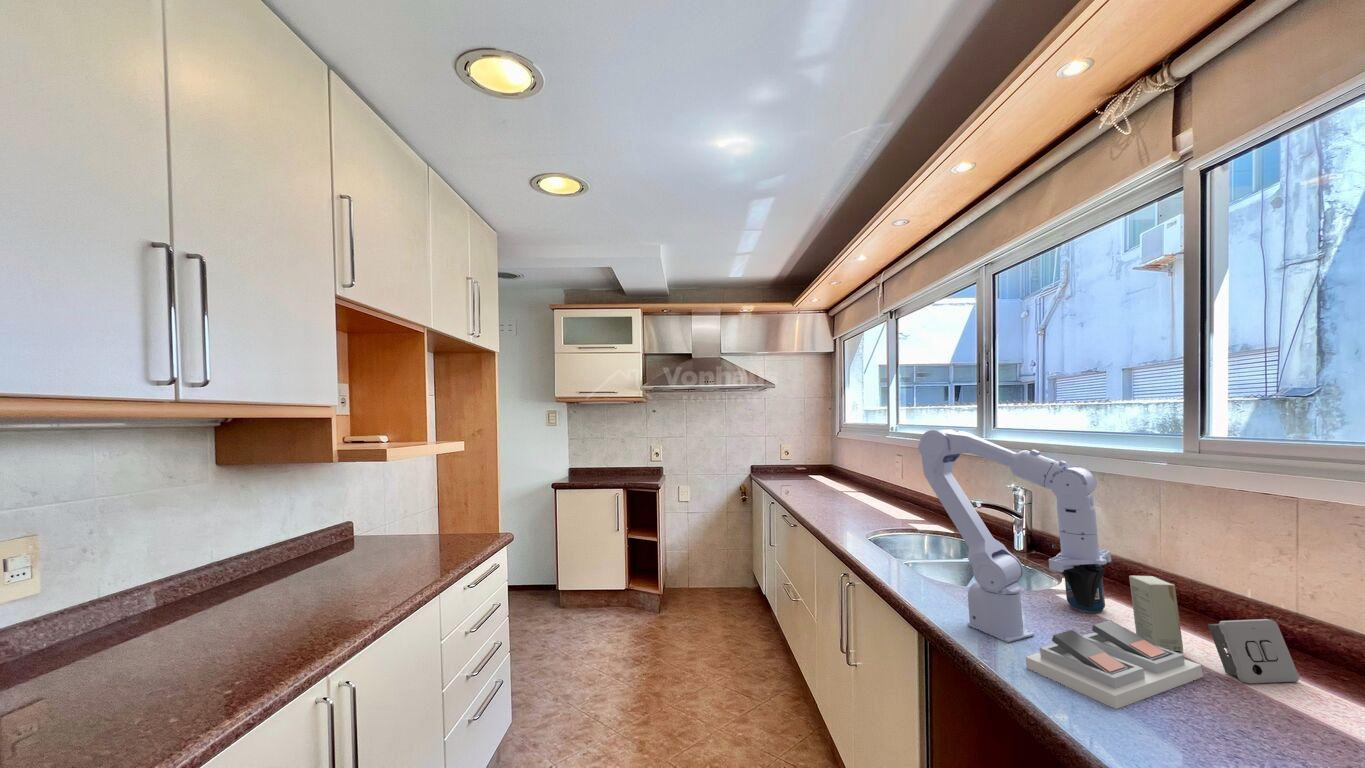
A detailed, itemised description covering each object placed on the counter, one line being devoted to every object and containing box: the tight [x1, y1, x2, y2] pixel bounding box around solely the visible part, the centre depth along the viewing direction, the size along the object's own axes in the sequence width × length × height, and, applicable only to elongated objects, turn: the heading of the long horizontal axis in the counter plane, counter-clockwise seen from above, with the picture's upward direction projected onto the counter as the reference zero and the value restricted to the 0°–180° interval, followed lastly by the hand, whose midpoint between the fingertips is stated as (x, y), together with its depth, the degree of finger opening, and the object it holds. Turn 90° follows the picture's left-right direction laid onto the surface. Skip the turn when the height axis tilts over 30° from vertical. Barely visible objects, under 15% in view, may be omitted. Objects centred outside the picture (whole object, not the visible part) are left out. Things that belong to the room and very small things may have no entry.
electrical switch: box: [1207, 618, 1300, 684], centre depth 85 cm, size 9×5×9 cm, turn 90°
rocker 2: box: [1091, 619, 1169, 661], centre depth 89 cm, size 9×5×1 cm, turn 20°
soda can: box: [1064, 564, 1106, 614], centre depth 115 cm, size 7×7×12 cm
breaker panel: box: [1025, 631, 1204, 710], centre depth 87 cm, size 14×23×4 cm, turn 110°
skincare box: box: [1128, 575, 1184, 652], centre depth 97 cm, size 6×4×12 cm
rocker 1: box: [1051, 629, 1129, 675], centre depth 86 cm, size 9×5×1 cm, turn 20°
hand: (1084, 605), depth 93 cm, fingers closed
